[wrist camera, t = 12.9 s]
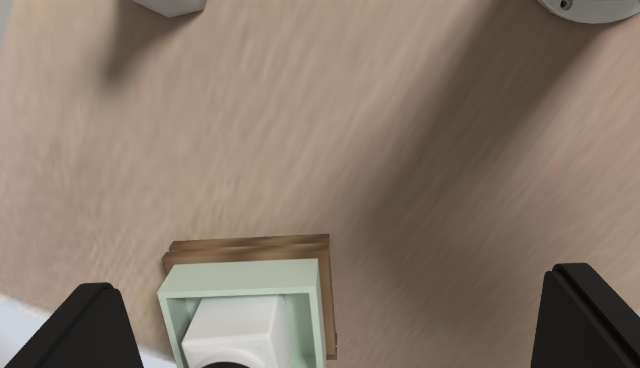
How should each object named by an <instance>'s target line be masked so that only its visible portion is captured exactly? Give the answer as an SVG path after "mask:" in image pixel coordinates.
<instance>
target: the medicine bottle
mask: <svg viewBox="0 0 640 368" xmlns="http://www.w3.org/2000/svg"><path fill="white" fill-rule="evenodd" d="M293 341H294V339H293V335H292V330H291V326H290V321H289V317H288V312H287V308H286V303H285V299H284V294H262V295H237V296H211V297H202V299H201V301H200V303H199V305H198V307H197V310H196V312H195V314H194V316H193V318H192V321H191V323H190V325H189V327H188V329H187V331H186V334H185V336H184V338H183V340H182V344H181V346H182V349H183V351H184V354H185V357H186V360H187V363H188V366H189V368H290V365H291V357H292V349H293Z"/></svg>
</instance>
